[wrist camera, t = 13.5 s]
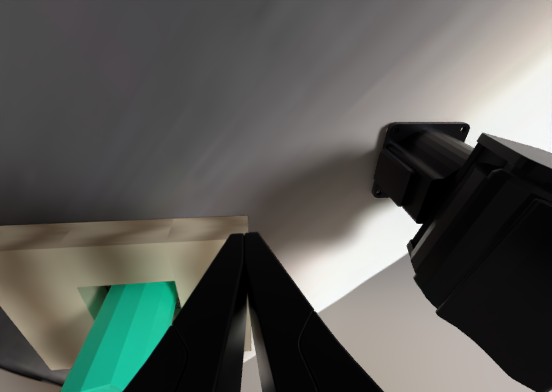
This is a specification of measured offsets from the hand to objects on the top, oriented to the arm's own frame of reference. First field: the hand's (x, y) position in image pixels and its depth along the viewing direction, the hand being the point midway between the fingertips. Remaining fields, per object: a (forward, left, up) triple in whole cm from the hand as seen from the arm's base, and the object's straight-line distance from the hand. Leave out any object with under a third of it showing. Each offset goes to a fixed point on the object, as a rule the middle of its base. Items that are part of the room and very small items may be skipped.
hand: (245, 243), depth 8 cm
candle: (+10, +16, -13) cm, 23 cm away
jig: (+10, +16, -13) cm, 23 cm away
